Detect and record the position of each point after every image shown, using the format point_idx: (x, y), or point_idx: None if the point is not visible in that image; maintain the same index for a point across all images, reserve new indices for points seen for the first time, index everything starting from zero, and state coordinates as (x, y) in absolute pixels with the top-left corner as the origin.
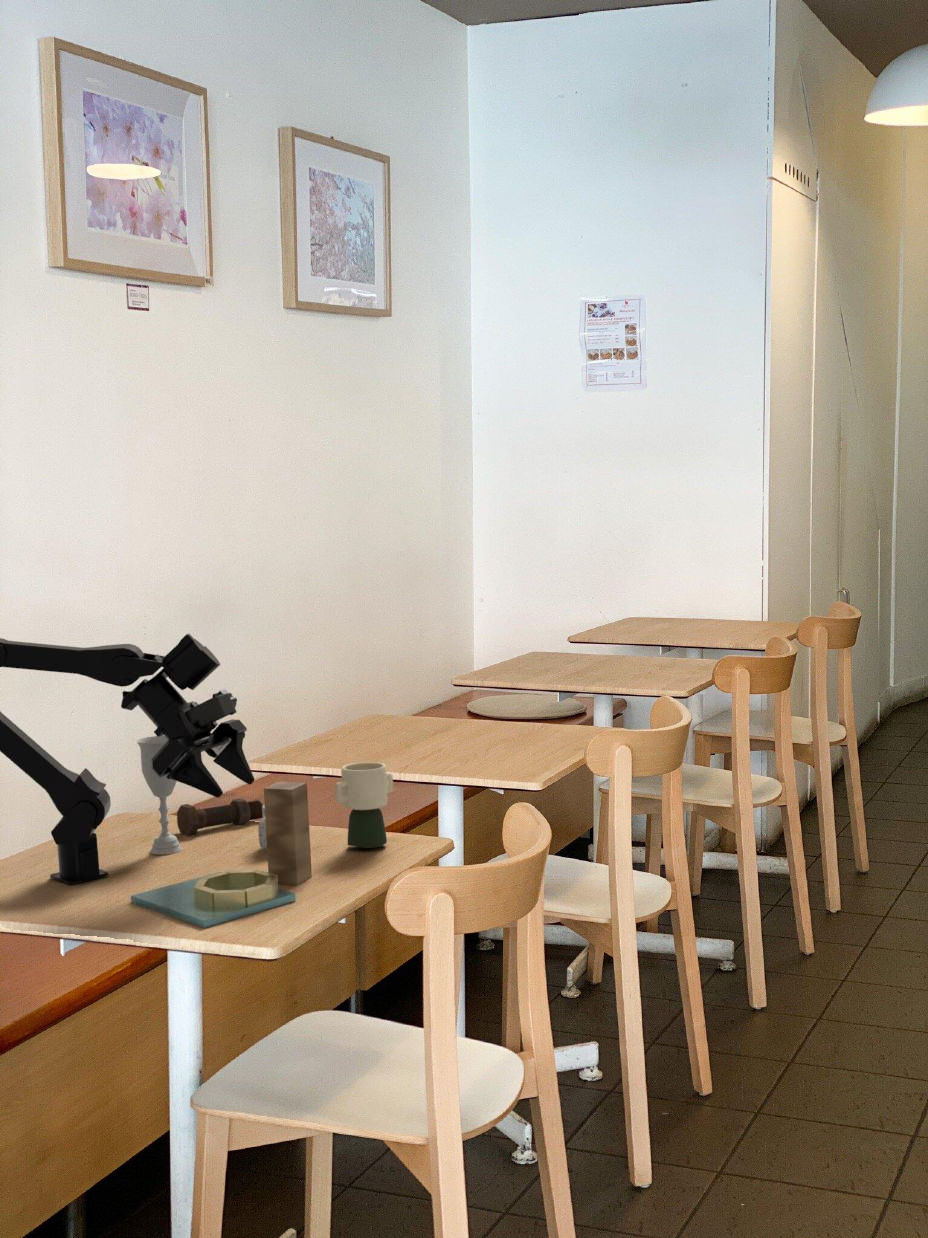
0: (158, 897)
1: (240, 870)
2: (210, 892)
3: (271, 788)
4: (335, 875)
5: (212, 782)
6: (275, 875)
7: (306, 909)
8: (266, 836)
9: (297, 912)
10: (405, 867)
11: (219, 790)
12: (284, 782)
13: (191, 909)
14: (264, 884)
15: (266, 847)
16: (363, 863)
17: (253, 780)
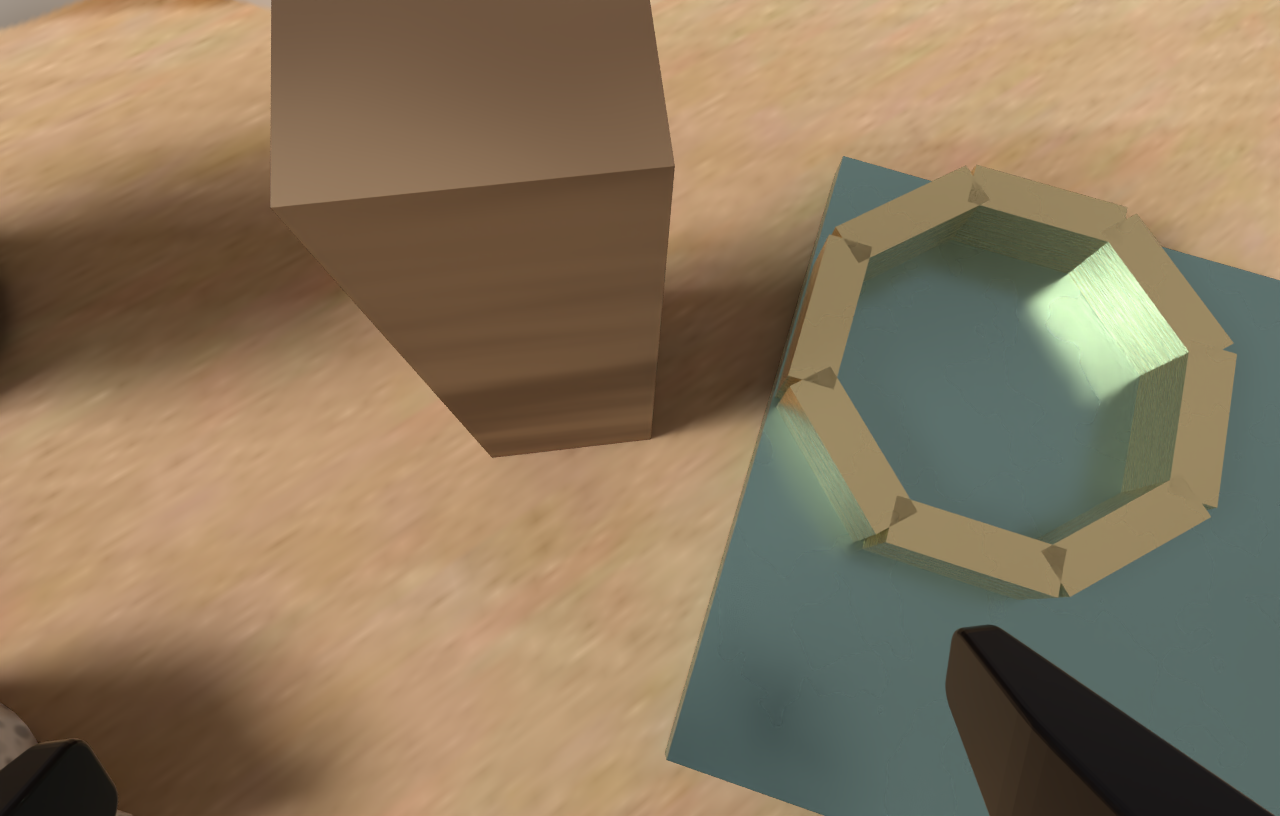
0: (1215, 770)
1: (840, 468)
2: (1232, 367)
3: (650, 77)
4: None
5: (1185, 762)
6: (840, 236)
7: (906, 80)
8: (655, 362)
9: (954, 91)
10: (234, 15)
11: (1030, 651)
12: (305, 115)
13: (1260, 454)
14: (993, 197)
15: (120, 811)
16: (208, 206)
17: (74, 740)
